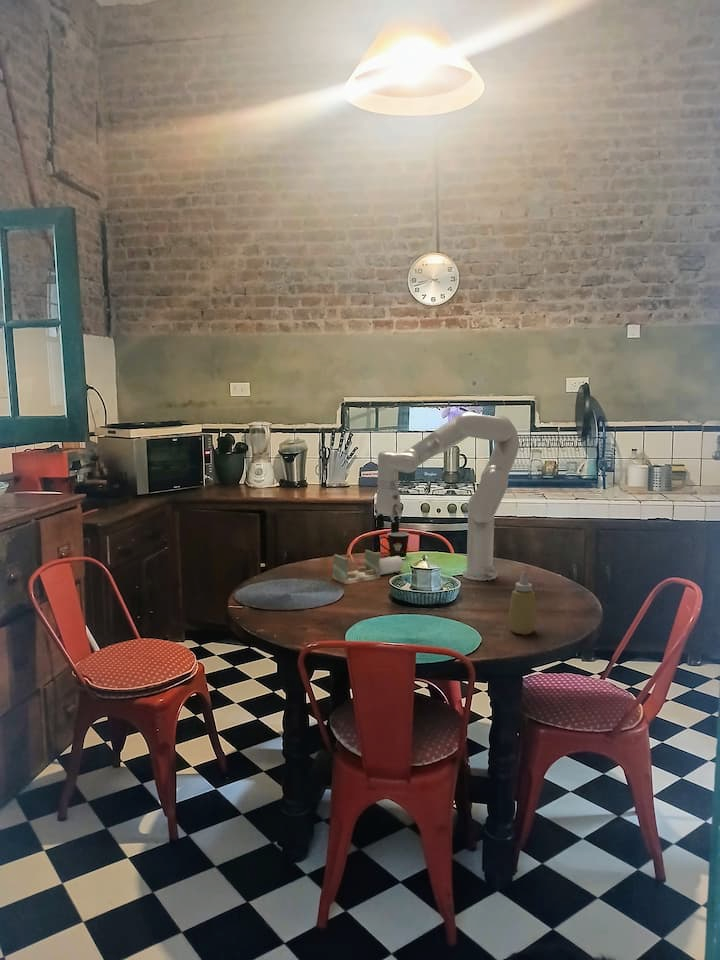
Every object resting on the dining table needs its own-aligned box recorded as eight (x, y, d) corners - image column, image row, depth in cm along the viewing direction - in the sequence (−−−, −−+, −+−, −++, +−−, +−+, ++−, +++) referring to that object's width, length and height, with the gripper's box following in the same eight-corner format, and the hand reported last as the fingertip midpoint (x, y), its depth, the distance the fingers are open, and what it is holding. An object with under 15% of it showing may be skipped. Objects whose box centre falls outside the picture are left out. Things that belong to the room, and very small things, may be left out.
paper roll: (394, 569, 284) (394, 554, 283) (403, 573, 279) (403, 557, 278) (372, 573, 279) (372, 557, 278) (381, 577, 274) (381, 561, 273)
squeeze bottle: (532, 626, 221) (534, 568, 218) (539, 636, 213) (542, 575, 210) (505, 626, 221) (507, 568, 218) (511, 636, 213) (513, 575, 210)
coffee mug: (412, 557, 303) (412, 533, 302) (402, 561, 296) (402, 537, 294) (387, 553, 309) (388, 529, 308) (377, 557, 302) (377, 533, 301)
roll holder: (366, 572, 279) (367, 549, 278) (380, 578, 272) (380, 554, 271) (332, 578, 271) (332, 554, 270) (345, 584, 264) (345, 559, 263)
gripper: (409, 487, 269) (409, 533, 272) (383, 481, 284) (382, 524, 286) (392, 488, 265) (392, 535, 268) (366, 482, 280) (366, 527, 282)
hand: (387, 530), depth 277 cm, fingers open, 9 cm apart
